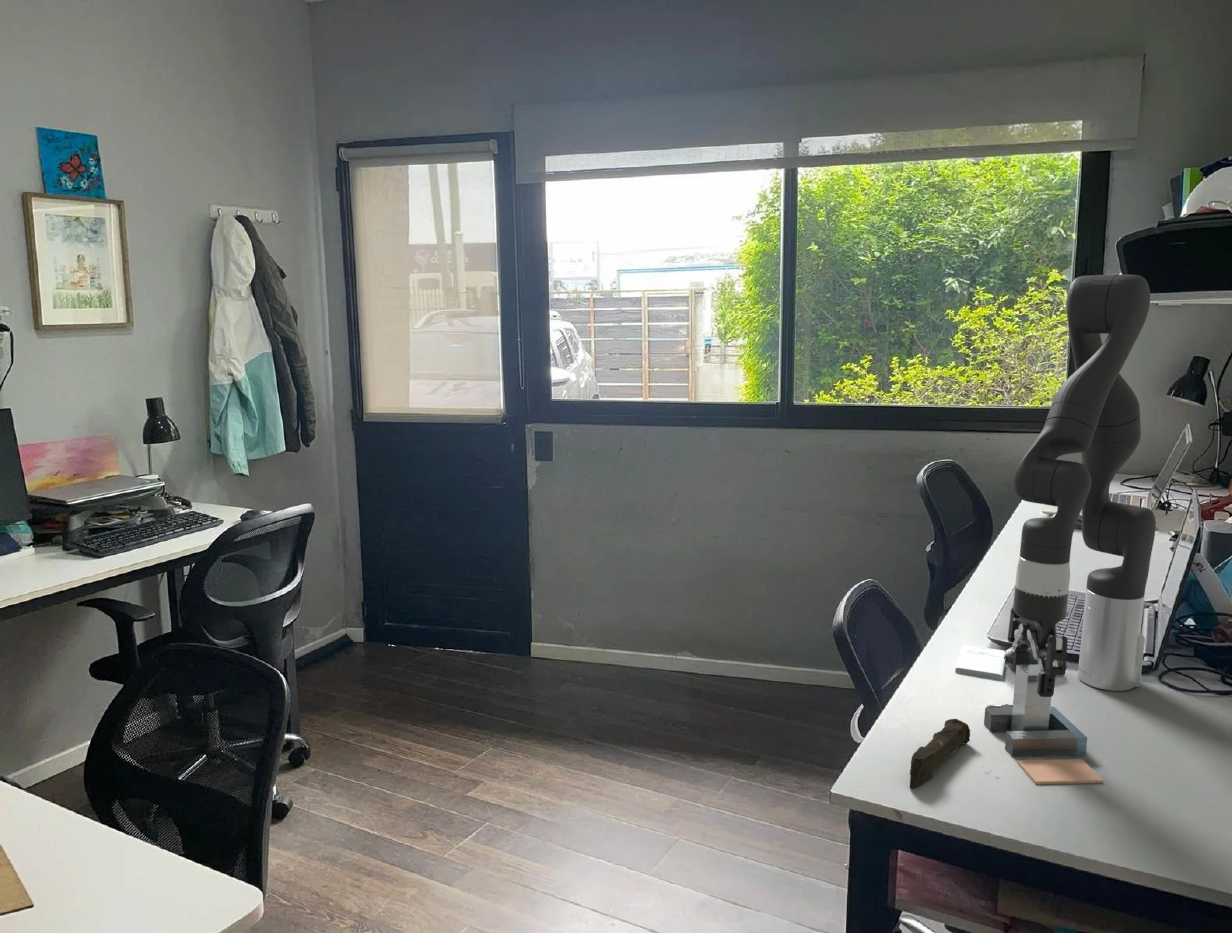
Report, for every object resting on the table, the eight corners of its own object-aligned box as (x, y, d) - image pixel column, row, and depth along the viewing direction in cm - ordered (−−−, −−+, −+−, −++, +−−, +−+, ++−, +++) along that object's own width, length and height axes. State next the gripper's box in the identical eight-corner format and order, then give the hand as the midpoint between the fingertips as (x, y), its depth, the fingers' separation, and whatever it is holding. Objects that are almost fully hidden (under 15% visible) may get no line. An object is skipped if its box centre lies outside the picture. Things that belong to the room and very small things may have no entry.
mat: (1081, 761, 141) (1081, 759, 140) (1102, 782, 135) (1103, 780, 135) (1016, 762, 140) (1017, 760, 140) (1035, 783, 134) (1035, 781, 134)
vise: (1042, 713, 156) (1044, 697, 155) (1085, 755, 142) (1087, 737, 142) (975, 714, 156) (976, 698, 155) (1011, 756, 142) (1013, 739, 141)
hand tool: (945, 737, 149) (947, 710, 148) (970, 745, 146) (971, 718, 145) (892, 785, 135) (894, 756, 134) (918, 794, 133) (920, 765, 132)
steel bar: (1034, 733, 149) (1041, 664, 147) (1046, 745, 145) (1053, 675, 143) (1010, 733, 149) (1016, 664, 147) (1021, 746, 145) (1027, 675, 143)
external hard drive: (954, 675, 173) (961, 651, 184) (1002, 682, 169) (1005, 657, 180) (955, 667, 172) (962, 643, 183) (1002, 674, 169) (1006, 650, 180)
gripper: (1089, 601, 135) (1078, 704, 138) (1043, 572, 149) (1034, 666, 152) (1039, 601, 135) (1029, 704, 138) (998, 572, 149) (989, 666, 152)
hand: (1032, 684), depth 145 cm, fingers open, 8 cm apart
